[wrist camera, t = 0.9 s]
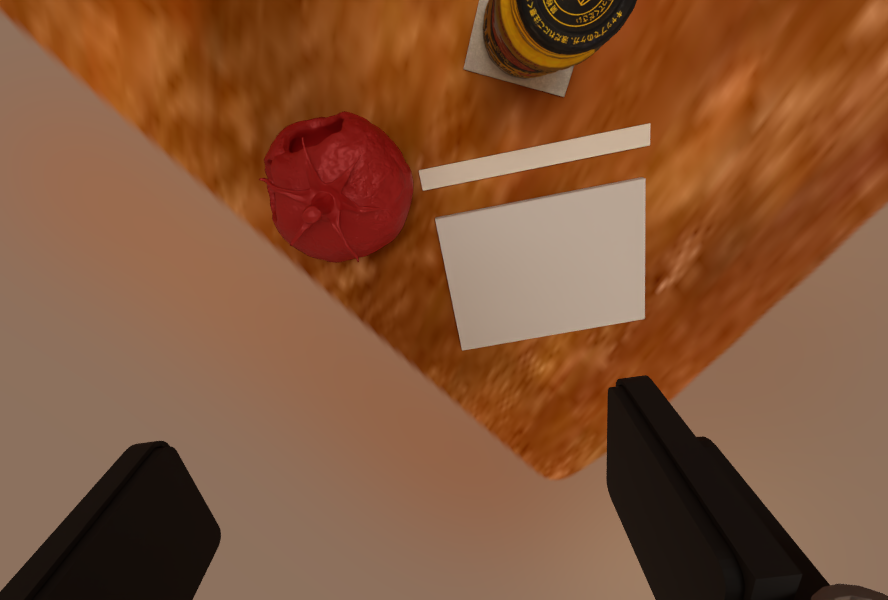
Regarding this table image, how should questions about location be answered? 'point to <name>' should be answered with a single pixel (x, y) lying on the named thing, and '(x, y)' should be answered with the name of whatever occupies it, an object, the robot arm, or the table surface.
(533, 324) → the mat
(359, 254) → the pomegranate
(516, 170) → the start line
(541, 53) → the condiment
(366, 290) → the table surface
